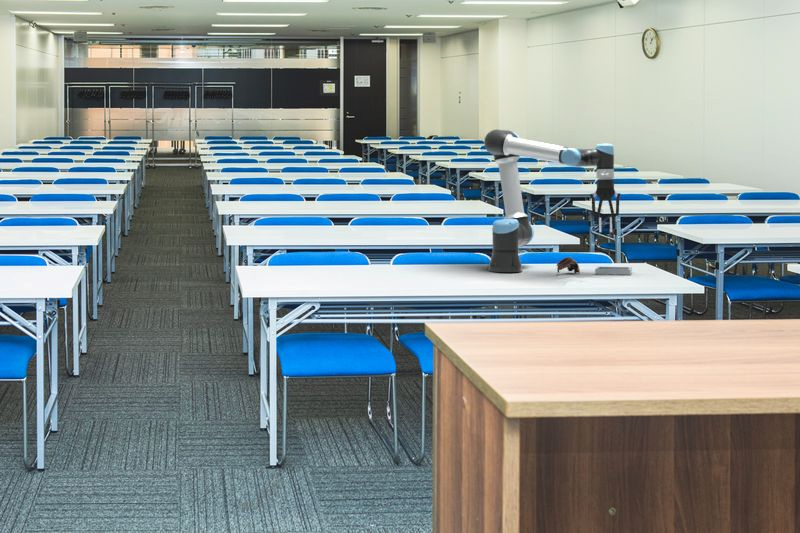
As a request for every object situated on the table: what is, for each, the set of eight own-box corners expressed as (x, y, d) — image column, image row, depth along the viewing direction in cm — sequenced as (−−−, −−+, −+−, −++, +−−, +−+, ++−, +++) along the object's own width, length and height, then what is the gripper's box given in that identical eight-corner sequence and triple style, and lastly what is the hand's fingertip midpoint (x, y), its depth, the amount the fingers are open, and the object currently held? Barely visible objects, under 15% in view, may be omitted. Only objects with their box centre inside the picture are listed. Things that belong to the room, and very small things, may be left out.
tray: (595, 274, 471) (595, 269, 471) (597, 272, 487) (597, 266, 487) (630, 275, 468) (630, 269, 467) (631, 272, 483) (631, 267, 483)
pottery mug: (581, 274, 471) (572, 258, 470) (562, 284, 474) (553, 268, 473) (582, 267, 483) (573, 251, 481) (563, 276, 485) (554, 260, 484)
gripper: (584, 179, 473) (585, 232, 474) (624, 178, 468) (624, 232, 470) (586, 179, 480) (587, 232, 482) (625, 178, 476) (626, 231, 477)
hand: (605, 231), depth 476 cm, fingers open, 4 cm apart
